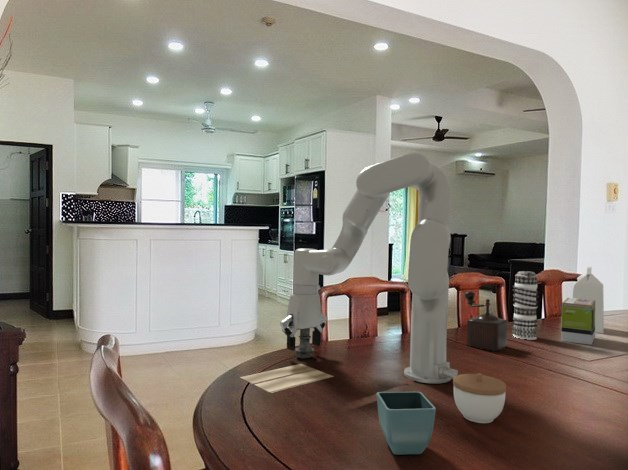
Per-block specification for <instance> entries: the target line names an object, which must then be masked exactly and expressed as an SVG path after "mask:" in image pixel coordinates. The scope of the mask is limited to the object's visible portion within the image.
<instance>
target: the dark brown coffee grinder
mask: <svg viewBox="0 0 628 470" xmlns="http://www.w3.org/2000/svg"><path fill="white" fill-rule="evenodd" d="M463 296H464V299H466V301H467V303H466V304H467V305H468V306H469V307H470V308H483V307H486V308H485V309H486V312H485V313H482V314H479V315H477V316H474V317H472V318H469V319H467V330H466V331H467V335H466V336H467V340H466V345H468V346H467V347H469V346H472V347H471V348H474V347H477V348H476V349H479V348H482V349H481V350H484V349H487V350H486V351H490V350H492V351H491V352H498V350H499V351H501V350H503V349H505V348H507V338H508V337H507V336H508V319H504V318H500V317H497V316H496V315H494V314H493V312H490V305H491V304H490V302H491V301H490V299H489V298H487V299H485V303H484V304H483V303H482V304H480V303H479V304H475V303H476V302H475V300H474V299H475V297H476V293H475V292H474V291H467V292H465V293H464V295H463Z"/></svg>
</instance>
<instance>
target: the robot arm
mask: <svg viewBox="0 0 628 470" xmlns="http://www.w3.org/2000/svg"><path fill="white" fill-rule="evenodd" d="M355 182H356V183H355V185H356V191H355V193H354V194H353V196H352V198H351V199H350V201H349V203H348V204H347V206H346V207H345V209H344V211H343V213H342V226H341V230H340V233H339V235H338V237H337V239H336V240H335V242H334V244H333V245H332V247H331V248H330V249H329V248H327V249H319V250H318V249H317V248H316V249H315V248H308V247H307V248H297V249H295V251H294V253H293V254H294V255H293V277H292V278H293V279H292V280H293V284H292V285H293V287H292V288H293V289H292V293H291V294H290V296H289V299H288V305H287V311H286V312H287V314H286V317H285V318H284V319H282V320H281V321H280V323H279V324H280V327H281V329H282V332H283V333H284V335H285V336H286V349H287V350H290V351H293V352H294V351H295V348H296V341H297V340H296V336H295V335H296V333H297V332H298V330H299V331H300V330H301V329H308V328H310V329H313V330H312V334H311V343H312V345H314V346H317V347H319V346H321V339H322V337H321V335H322V333H323V331H324V330H323V329H324V328H325V326H326V323H327V321H328V316H327V315H325V314H323V313H322V305H321V297H320V293H319V290H320V289H321V285H320V284H319V282H320V281H319V277H320V276H319V275H322V276H328V277H330V276H334V275H337V274H340V273H342V272H344V271H345V270H347V268H349V266H350V265H351V263H352V261H353V260H354V258H355V256H356V255H357V253H358V251H359V250H360V248H361V246H362V244H363V243H364V239H365V238H366V236H367V234H368V231H369V229H370V227H371V225H372V224H373V223H374V221H375V219H376V217H377V215H378V214H379V212H380V211H381V209H382V207H383V205H384V204H385V203H386V201H387V199H388V197H389V196H390V194H391V193H393V192H397V191H401V190H403V189H407V188H410V187H411V188H414V189H416V190H417V192H418V195H419V202H418V215H417V216H418V218H417V224H416V225H415V227H414V228H413V230H412V232H411V236H410V242H409V257H408V267H407V269H408V271H407V284H408V287H409V290H410V291H411V293H412V295H411V296H412V298H411V312H410V313H411V318H410V348H409V349H410V351H409V353H410V354H409V366H407V367H405V368H404V371H403V376H405V377H406V378H407V379H411V380H413V381H415V382H417V383H423V384H433V385H434V384H445V383H449V382H450V381H452V380H453V378H454V377H455V376H457V375H459V371H458V369H454V368H451V363H450V361H447V336H448V334H447V333H448V313H449V312H448V310H449V307H448V306H449V290H450V277H449V276H450V275H449V273H448V264H449V263H448V261H449V251H450V250H449V249H450V244H451V239H452V237H451V220H452V187H451V184H450V181H449V179H448V177H447V175H446V173H444V172H443V171H442V170H441V169H440V168H439V167H438V166H436V165H435V164H434V163H432V162H430V160H429V159H428V158H427V157H426V155H424V154H421V153H419V152H408V153H404V154H401V155H398V156H395V157H393V158H390V159H387V160H384V161H380V162H378V163H374V164H372V165H369V166H367V167H365V168H364V169H362V170H360V172H359V173H358V175H357V178H356V181H355Z"/></svg>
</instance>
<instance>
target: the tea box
mask: <svg viewBox="0 0 628 470" xmlns="http://www.w3.org/2000/svg"><path fill="white" fill-rule="evenodd" d="M560 332H561V333H560V335H561V338H560V340H561V342H565V343H566V342H568V343H575V344H580V345H581V344H582V345H588V346H589V345H590V346H591V345H592V344H593V342H594V340H595V338H596V333H595V300H589V299H578V298H573V297H566V299H565V300H564V301H562V302H561V331H560Z"/></svg>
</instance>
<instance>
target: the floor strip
mask: <svg viewBox="0 0 628 470" xmlns="http://www.w3.org/2000/svg"><path fill="white" fill-rule="evenodd" d="M312 370H316V368H314V367H310V366H308V365H305V364H302V363H298V364H293V365H290V366H289V365H287V366H285V367H281V368H275V369H272V370H271V369H270V370H267V371H261V372H258V373H253V374H250V375H249V374H248V375H244V376H240V377H239V378H240V379H242V380H244V381H245V382H248V383H249V384H252V385H255V384H259V383H263V382H267V381H271V380H275V379H279V378H284V377H288V376H292V375H296V374H300V373H304V372H308V371H312Z"/></svg>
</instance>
